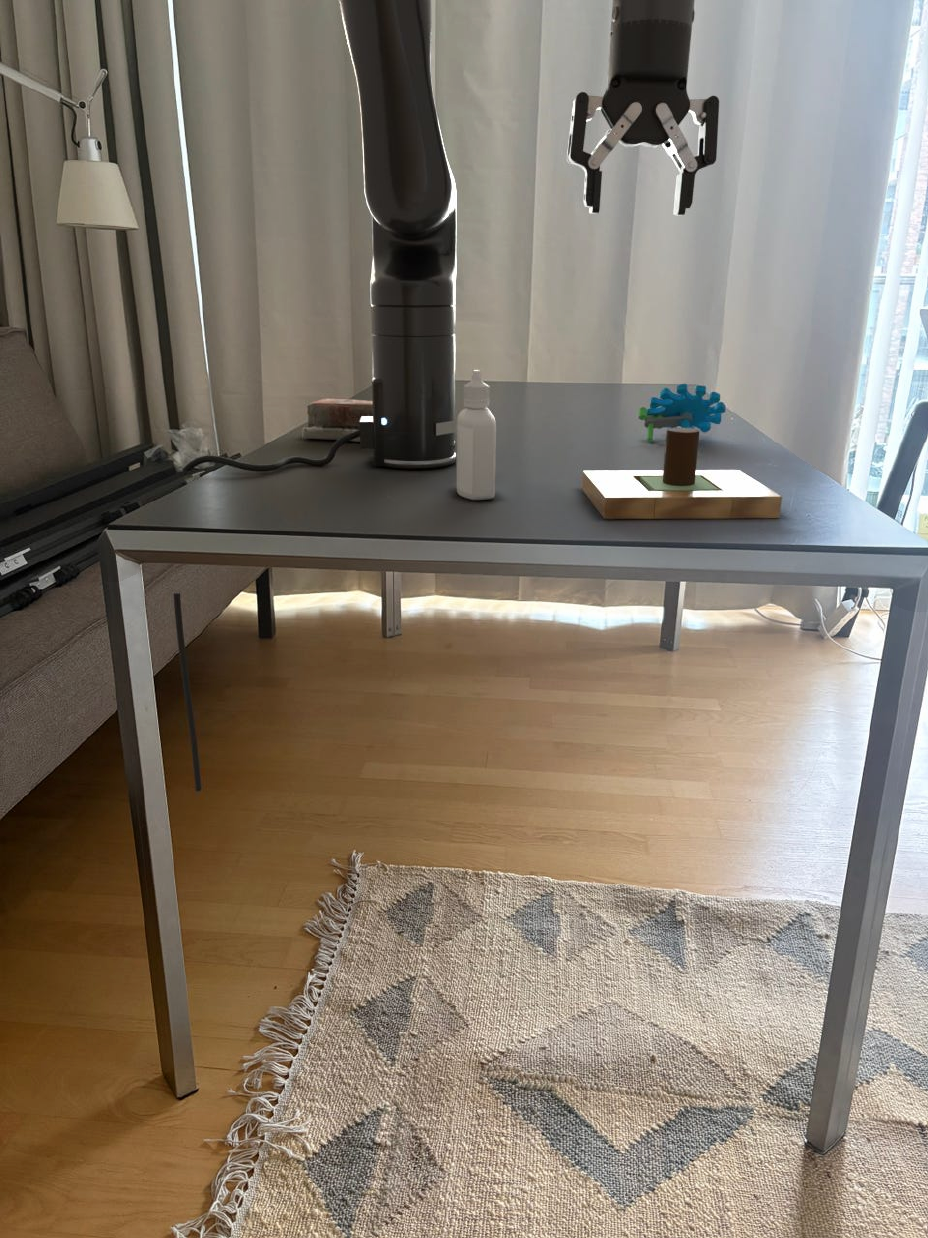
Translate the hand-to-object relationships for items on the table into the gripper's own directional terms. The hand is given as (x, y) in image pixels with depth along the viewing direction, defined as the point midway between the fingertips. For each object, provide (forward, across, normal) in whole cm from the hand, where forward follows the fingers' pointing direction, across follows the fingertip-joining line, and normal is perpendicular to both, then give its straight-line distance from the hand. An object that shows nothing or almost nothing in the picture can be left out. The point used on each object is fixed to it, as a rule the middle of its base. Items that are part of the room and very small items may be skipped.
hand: (636, 213), depth 93 cm
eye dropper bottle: (+27, +16, +10) cm, 33 cm away
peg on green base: (+26, -3, +13) cm, 30 cm away
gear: (+26, -13, -23) cm, 37 cm away
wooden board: (+26, -3, +13) cm, 30 cm away
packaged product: (+27, +27, -25) cm, 46 cm away
